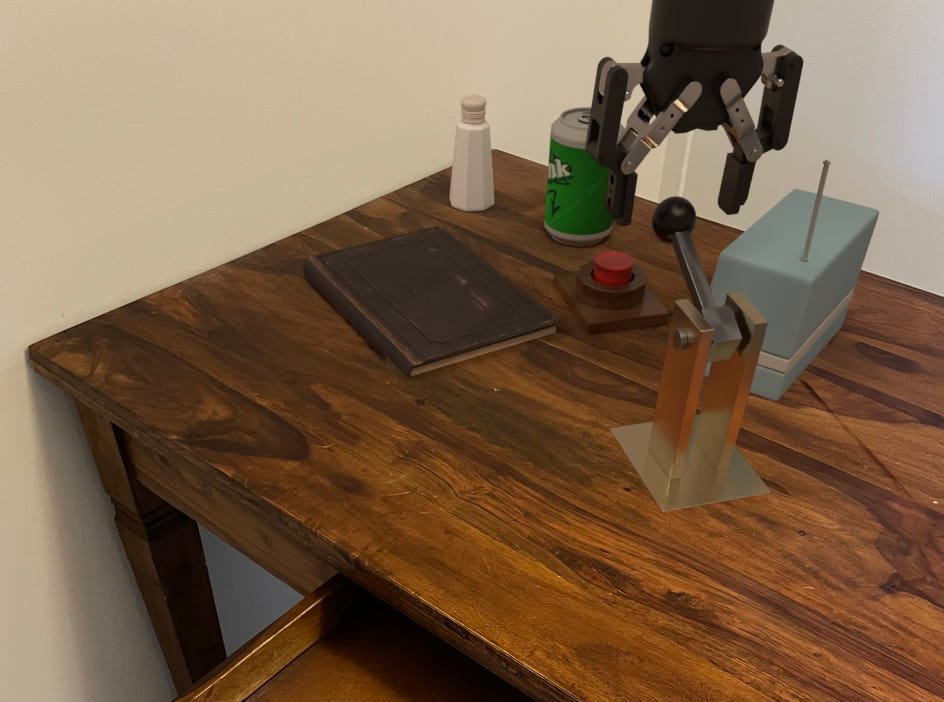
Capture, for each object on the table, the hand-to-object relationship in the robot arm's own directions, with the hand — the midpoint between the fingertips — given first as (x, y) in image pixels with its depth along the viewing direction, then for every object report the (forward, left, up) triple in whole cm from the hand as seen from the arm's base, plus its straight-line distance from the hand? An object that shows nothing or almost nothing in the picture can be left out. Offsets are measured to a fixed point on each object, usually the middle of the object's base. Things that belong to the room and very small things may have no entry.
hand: (674, 216), depth 69 cm
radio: (-14, -5, -17) cm, 23 cm away
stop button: (-3, -16, -13) cm, 21 cm away
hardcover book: (+14, -21, -17) cm, 30 cm away
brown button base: (-3, -16, -17) cm, 23 cm away
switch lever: (0, +4, -4) cm, 5 cm away
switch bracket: (0, +9, -17) cm, 19 cm away
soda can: (-6, -33, -17) cm, 37 cm away
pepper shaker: (+3, -44, -17) cm, 47 cm away
